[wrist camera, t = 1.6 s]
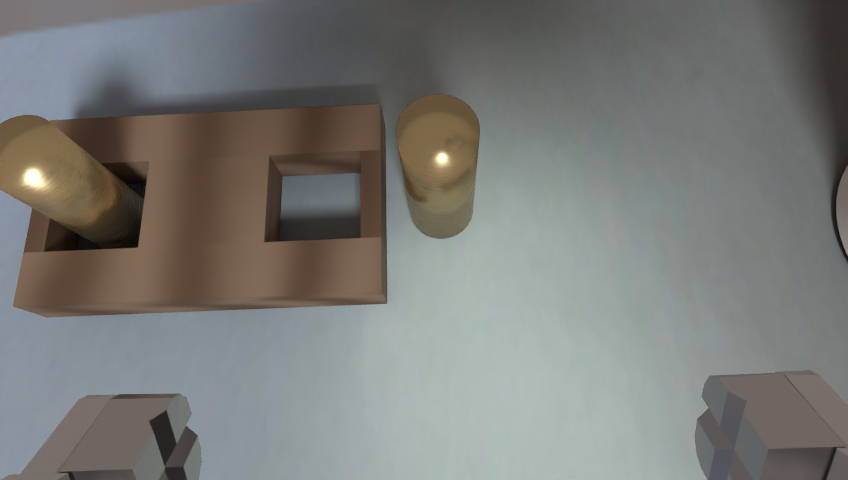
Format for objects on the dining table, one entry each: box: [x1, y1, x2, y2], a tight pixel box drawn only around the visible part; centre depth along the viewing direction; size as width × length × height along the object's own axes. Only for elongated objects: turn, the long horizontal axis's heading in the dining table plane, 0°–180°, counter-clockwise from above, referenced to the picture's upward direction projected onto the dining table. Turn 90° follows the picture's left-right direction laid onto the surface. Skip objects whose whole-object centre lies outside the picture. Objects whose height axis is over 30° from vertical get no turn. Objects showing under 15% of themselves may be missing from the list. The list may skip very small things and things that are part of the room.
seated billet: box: [0, 115, 144, 249], centre depth 34 cm, size 4×4×10 cm
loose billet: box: [396, 94, 480, 239], centre depth 34 cm, size 4×4×10 cm
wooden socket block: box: [13, 104, 387, 317], centre depth 37 cm, size 21×12×3 cm, turn 92°
